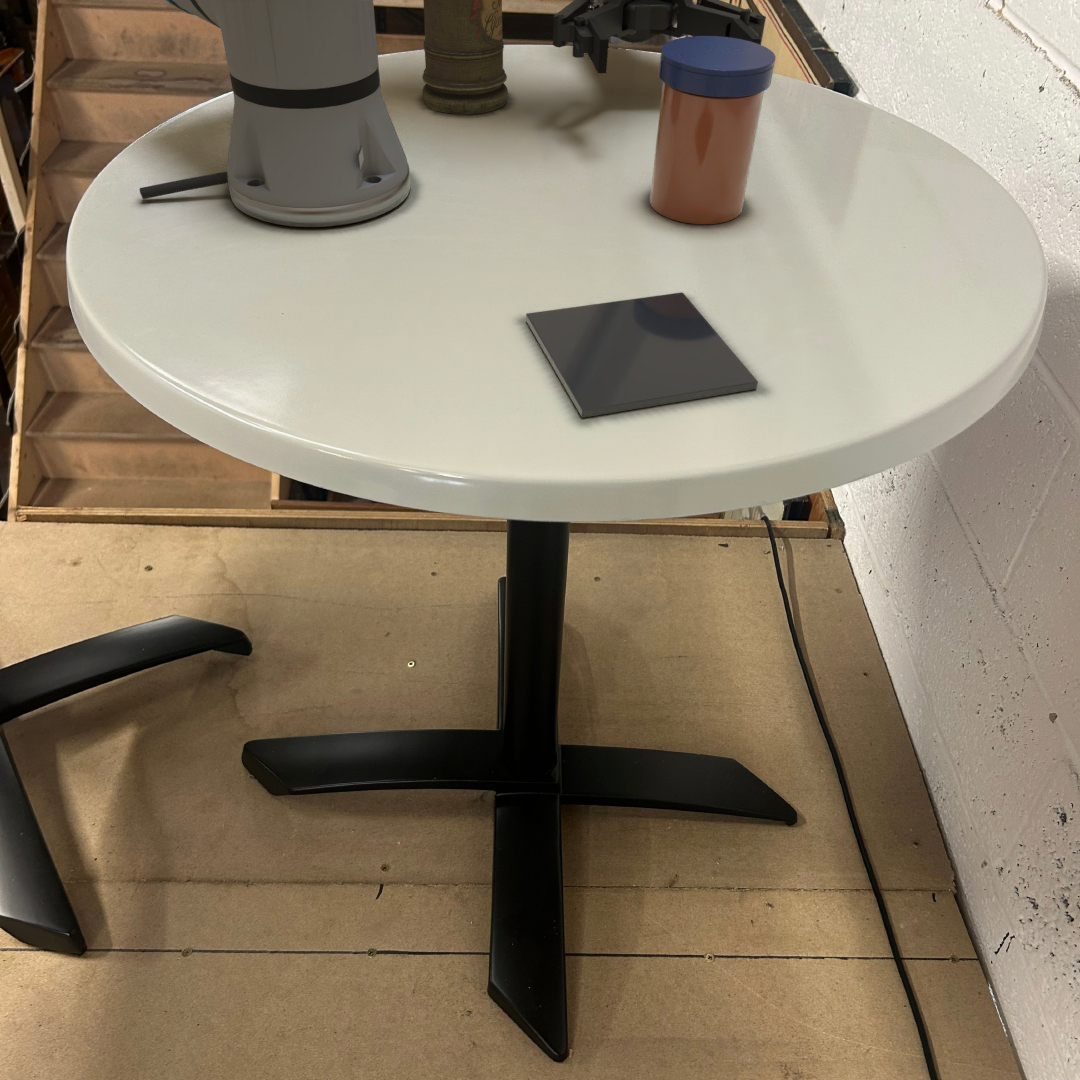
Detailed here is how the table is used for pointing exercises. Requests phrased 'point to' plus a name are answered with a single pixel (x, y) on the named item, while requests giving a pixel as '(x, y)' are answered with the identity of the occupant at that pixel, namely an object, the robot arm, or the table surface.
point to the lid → (716, 66)
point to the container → (464, 56)
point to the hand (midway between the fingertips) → (679, 56)
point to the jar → (703, 155)
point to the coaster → (637, 354)
